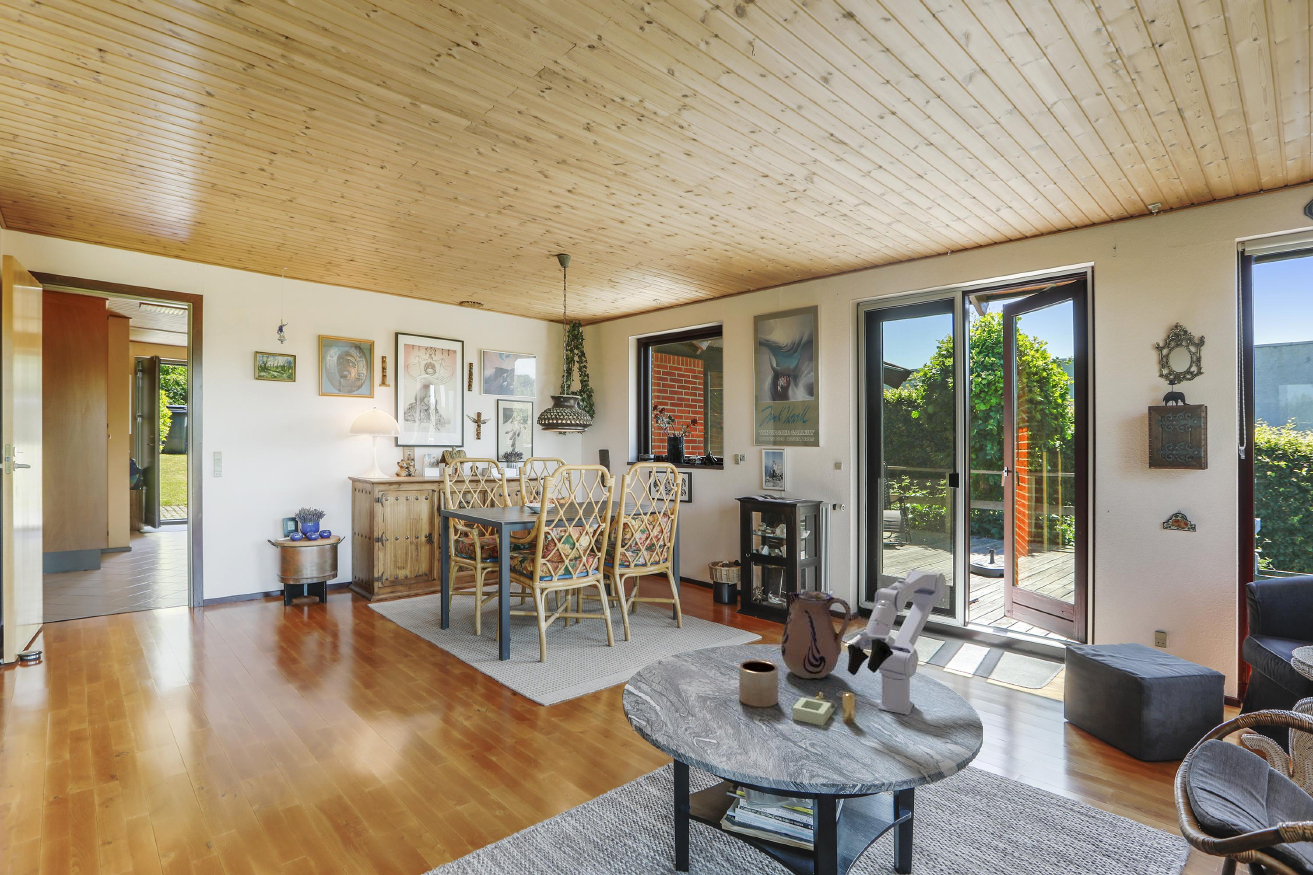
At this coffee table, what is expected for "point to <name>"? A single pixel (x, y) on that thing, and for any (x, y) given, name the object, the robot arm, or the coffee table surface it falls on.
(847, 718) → the brass pin
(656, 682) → the coffee table surface
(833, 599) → the ceramic pitcher
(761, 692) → the planter
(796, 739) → the coffee table surface
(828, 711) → the slot jig
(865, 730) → the coffee table surface
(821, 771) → the coffee table surface
